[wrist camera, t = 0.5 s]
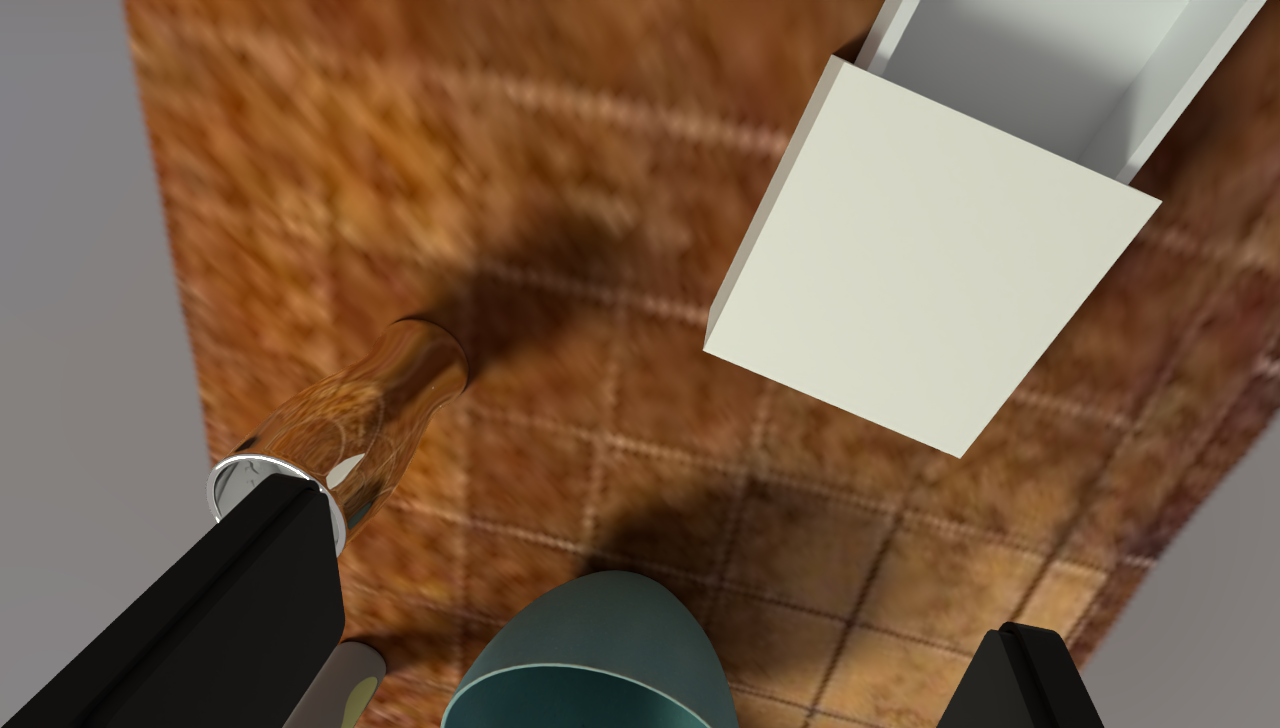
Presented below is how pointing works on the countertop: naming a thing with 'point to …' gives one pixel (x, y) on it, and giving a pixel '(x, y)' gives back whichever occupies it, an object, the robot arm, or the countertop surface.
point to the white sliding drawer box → (1060, 67)
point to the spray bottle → (340, 688)
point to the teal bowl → (597, 663)
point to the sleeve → (914, 259)
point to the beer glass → (351, 428)
